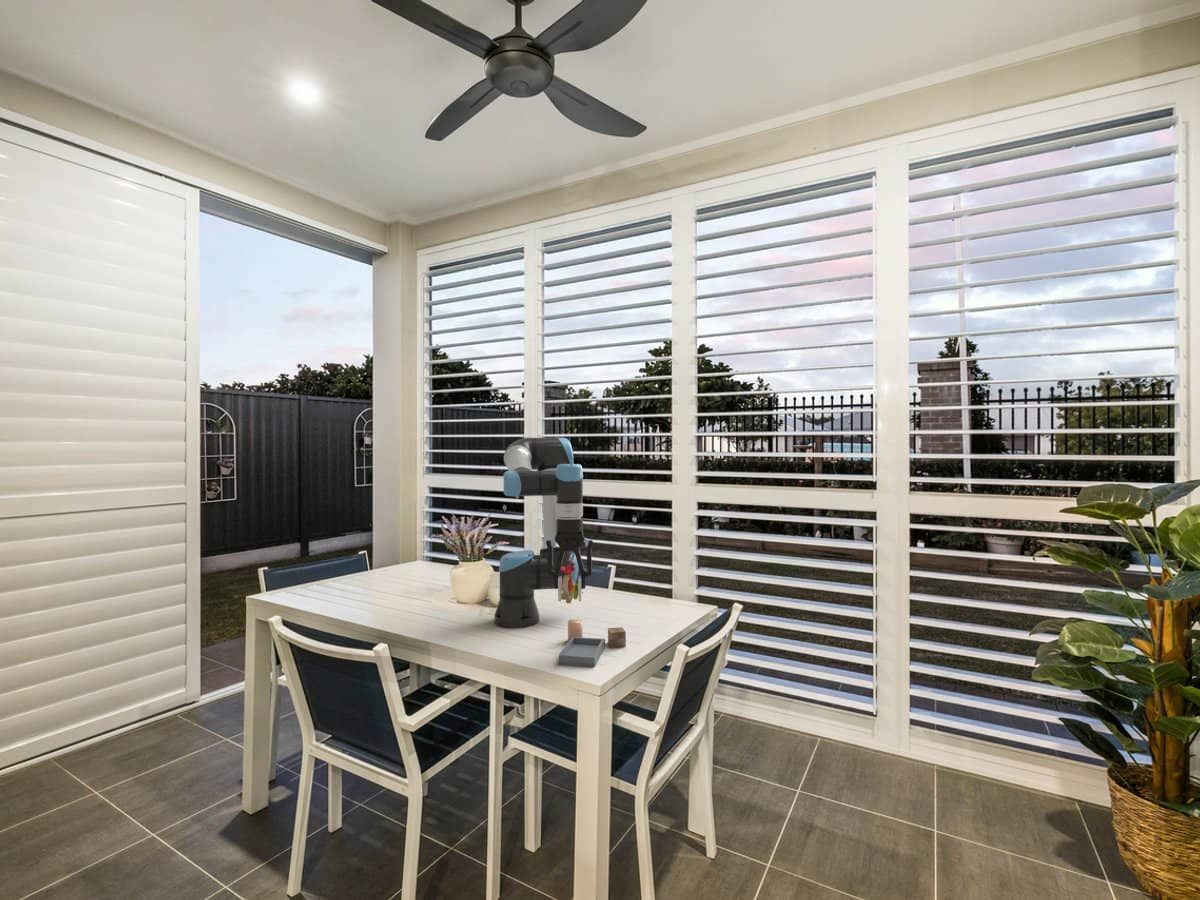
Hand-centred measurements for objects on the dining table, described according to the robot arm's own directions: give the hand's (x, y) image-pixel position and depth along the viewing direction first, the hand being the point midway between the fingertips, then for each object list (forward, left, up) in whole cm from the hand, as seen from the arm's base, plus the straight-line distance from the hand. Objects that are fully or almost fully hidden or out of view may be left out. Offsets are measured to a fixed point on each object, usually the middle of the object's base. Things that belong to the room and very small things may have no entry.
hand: (570, 600), depth 168 cm
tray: (+4, 0, -16) cm, 16 cm away
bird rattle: (0, 0, -1) cm, 1 cm away
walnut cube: (+12, +11, -16) cm, 23 cm away
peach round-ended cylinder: (-1, +12, -16) cm, 20 cm away
